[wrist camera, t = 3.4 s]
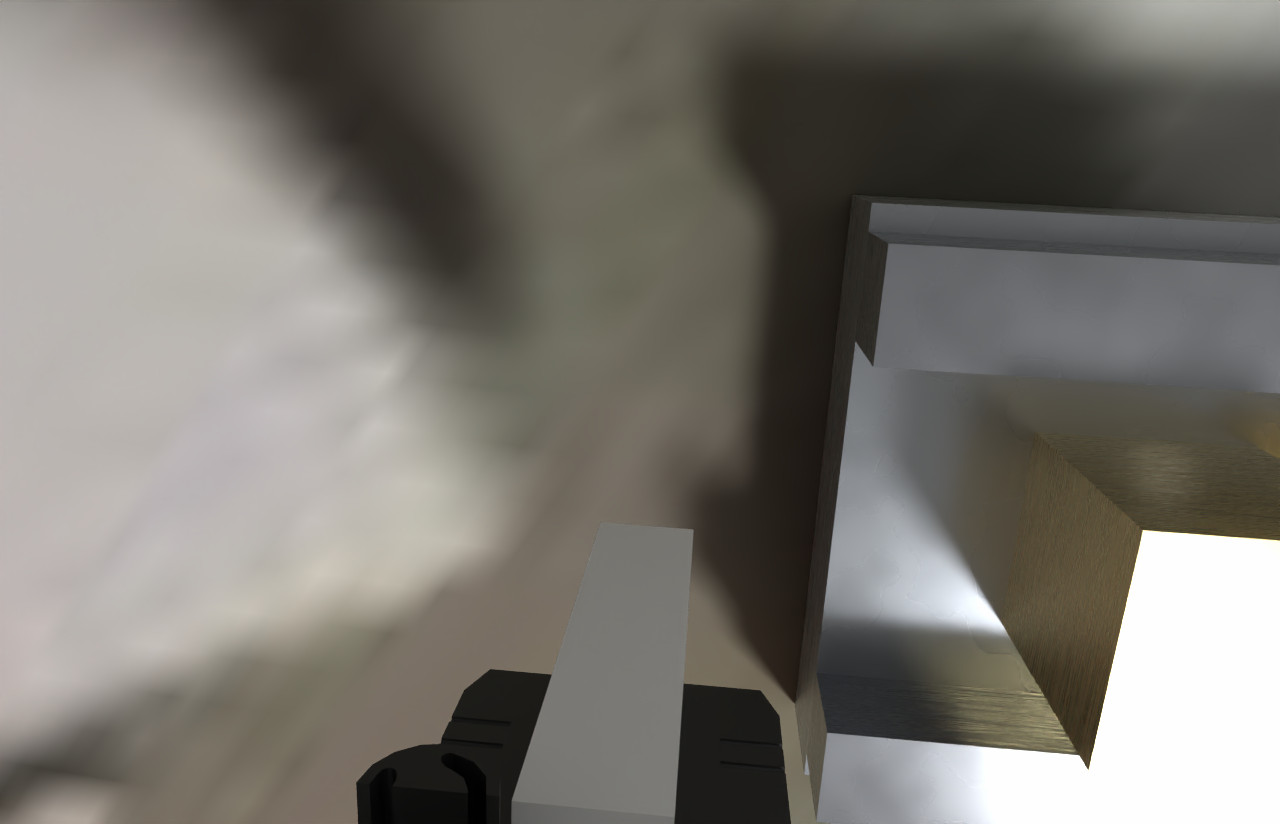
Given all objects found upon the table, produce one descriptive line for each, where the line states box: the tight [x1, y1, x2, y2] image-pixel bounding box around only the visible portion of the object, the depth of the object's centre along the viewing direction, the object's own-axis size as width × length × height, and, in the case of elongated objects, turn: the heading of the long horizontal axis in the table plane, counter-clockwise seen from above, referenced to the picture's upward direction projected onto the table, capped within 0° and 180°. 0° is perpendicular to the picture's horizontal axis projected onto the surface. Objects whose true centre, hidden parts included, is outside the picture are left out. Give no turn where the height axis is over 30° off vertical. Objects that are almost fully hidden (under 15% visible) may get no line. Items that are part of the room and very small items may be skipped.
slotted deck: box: [795, 195, 1280, 824], centre depth 17 cm, size 12×16×4 cm
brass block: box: [1001, 432, 1280, 790], centre depth 15 cm, size 4×4×4 cm
